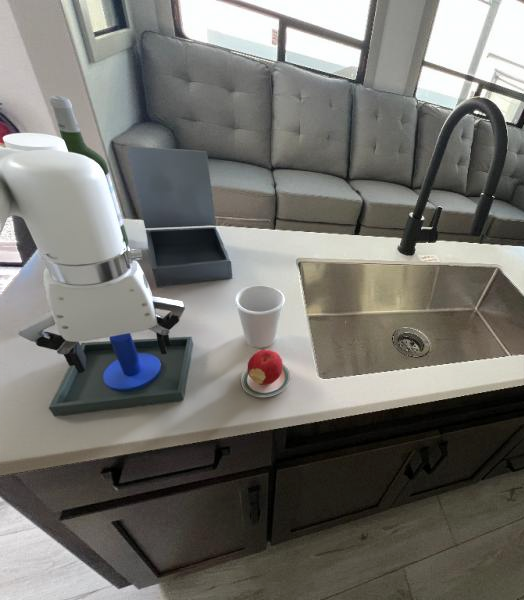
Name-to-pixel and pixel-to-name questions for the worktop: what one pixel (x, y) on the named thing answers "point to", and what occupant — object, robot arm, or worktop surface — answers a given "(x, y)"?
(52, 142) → the cylindrical container
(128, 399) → the tray
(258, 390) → the bitten apple on plate
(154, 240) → the open box
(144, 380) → the blue disc with rod
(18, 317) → the worktop surface
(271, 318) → the dixie cup
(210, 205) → the gray box lid
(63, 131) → the wine bottle
